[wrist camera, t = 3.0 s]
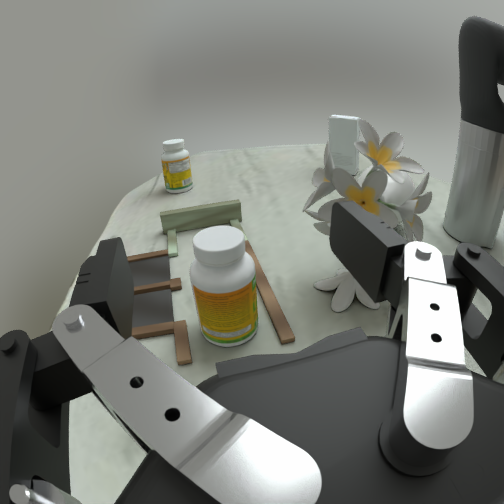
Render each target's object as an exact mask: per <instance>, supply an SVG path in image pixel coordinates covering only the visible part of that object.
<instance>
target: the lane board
mask: <svg viewBox="0 0 504 504" xmlns="http://www.w3.org/2000/svg"><path fill="white" fill-rule="evenodd" d="M160 217H161V222H162V227H163V232H164V234H167V235H168V249H167V250H161V251H156V252H150V253H144V254H139V255H133V256H128V257H127V259H128V263H129V266H130V269H131V273H132V277H133V282H134V298H133V316H132V337H133V338H135V339H140V338H146V337H153V336H159V335H165V334H171V333H174V336H175V345H176V355H177V362H178V365H183V364H188V363H192V359H191V353H190V346H189V339H188V332H187V325H186V321H185V320H182V321H176V322H174V318H173V306H172V294H171V291H174V290H180V289H182V286H181V279H180V278H175V279H170V265H169V257H173V256H178V249H177V238H176V232H179V231H185V230H191V229H197V228H203V227H209V226H215V225H221V224H227V223H230V225H231V227H235V228H237V229H239V230H241V231H242V232H243V234H244V238H245V252H247V253H248V254H249V255H250V256H251V257H252V259H253V261H254V264H255V272H256V285H257V288H258V290H259V292H260V295H261V297H262V299H263V302H264V304H265V306H266V309H267V311H268V313H269V316H270V318H271V320H272V323H273V325H274V327H275V329H276V332H277V334H278V336H279V339H280V341H281V343H282V344H285V343H289V342H293V341H295V336H294V334H293V332H292V330H291V328H290V326H289V324H288V322H287V320H286V318H285V316H284V314H283V312H282V309H281V307H280V305H279V303H278V301H277V299H276V297H275V295H274V293H273V291H272V289H271V287H270V285H269V283H268V280H267V278H266V276H265V274H264V272H263V270H262V268H261V266H260V264H259V262H258V260H257V258H256V256H255V254H254V252H253V249H252V247H251V245H250V243H249V241H248V239H247V237H246V235H245V233H244V231H243V229H242V227H241V225H240V223H239V221H242V217H241V203H240V201H239V200H232V201H225V202H219V203H212V204H206V205H200V206H194V207H188V208H182V209H176V210H170V211H164V212H160ZM149 292H150V293H149Z"/></svg>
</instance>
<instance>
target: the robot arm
mask: <svg viewBox="0 0 504 504" xmlns="http://www.w3.org/2000/svg"><path fill="white" fill-rule="evenodd" d="M459 68H460V102H461V110H462V111H461V118H462V119H461V122H460V131H459V139H458V147H457V154H456V161H455V167H454V173H453V178H452V184H451V189H450V194H449V199H448V204H447V209H446V212H445V218H444V222H443V226H444V229H445V230H446V231H447V232H448V233H449V234H450V235H451V236H452V237H454V238H456V239H457V240H459V241H461V242H463V243H460V244H459V245H458V246H457V249H456V252H455V255H454V256H442V254H441V252H440V251H439V250H438V249H437V248H435V247H434V246H432V245H430V244H427V243H423V242H411V243H409V242H408V241H407V240H406V239H404V238H403V237H402V236H401V235H400V234H398V233H397V232H396V231H395V230H394V229H392V228H390V226H389V225H388V224H386V223H384V221H383V220H382V219H380V218H379V217H378V216H377V215H375V214H372V213H370V212H368V211H366V210H365V209H363V208H362V207H361V206H360V205H358V204H357V203H356V202H354V201H353V200H350V201H342V202H335V203H334V204H333V206H332V213H331V226H330V238H329V239H330V246H331V249H332V251H333V253H334V254H335V255H336V257H337V258H338V259H339V260H340V261H341V263H342V264H343V265H344V266H345V267H346V269H347V270H348V271H349V272H350V273H351V275H352V276H353V277H354V278H355V279H356V281H357V282H358V283H359V284H360V286H361V287H362V288H363V289H364V290H365V292H366V293H367V294H368V295H369V297H370V298H371V299H372V300H373V302H374V303H375V304H376V303H379V302H382V301H386V300H388V301H389V302H390V306H389V310H388V319H387V327H386V335H385V337H379V336H366V335H365V333H364V332H363V330H362V329H361V327H358V328H355V329H351V330H348V331H345V332H341V333H338V334H334V335H331V336H328V337H326V338H324V339H322V340H320V341H319V342H317V343H315V344H313V345H311V346H309V347H307V348H305V349H304V350H302V351H300V352H297V353H293V354H269V355H251V356H247V357H242V358H237V359H232V360H228V361H223V362H217V363H216V368H217V373H218V374H217V375H215V376H212V377H210V378H208V379H207V380H205V381H203V382H202V383H200V384H199V385H198V386H196V387H195V386H193V385H192V384H191V383H189V382H188V381H187V380H185V379H184V378H183V377H181V376H180V375H179V374H178V373H176V372H175V371H174V370H172V369H171V368H170V367H169V366H167V365H166V364H165V363H164V362H163V361H161V360H160V359H159V358H158V357H156V356H155V355H154V354H153V353H152V352H150V351H149V350H148V349H147V348H146V347H144V346H143V345H142V344H141V343H140V342H139V341H137V340H136V339H135V338H133V337H132V316H133V298H134V282H133V277H132V273H131V269H130V266H129V263H128V259H127V256H126V252H125V249H124V245H123V242H122V239H121V238H120V237H117V238H112V239H107V240H102V241H100V243H99V246H98V250H97V253H96V255H95V256H90V257H89V258H88V259H87V260H86V261H85V262H84V263H83V264H82V266H81V268H80V272H79V277H78V278H77V281H76V285H75V288H74V291H73V294H72V298H71V301H70V305H69V308H67V309H65V310H63V311H62V312H61V313H60V314H59V315H58V316H57V317H56V318H55V320H54V322H53V325H52V330H53V331H51V332H49V333H47V334H45V335H42V336H40V337H37V338H35V339H32V340H30V338H29V337H28V335H27V333H26V332H24V331H22V330H13V331H10V332H8V333H6V334H5V335H3V336H2V337H1V338H0V504H82V503H81V502H80V501H79V500H77V499H76V498H74V497H73V496H71V490H70V474H69V403H70V400H73V399H75V398H78V397H80V396H83V395H85V394H88V393H90V392H92V393H93V395H94V396H95V397H96V398H97V400H98V401H99V402H100V403H101V404H102V405H103V407H104V408H105V409H106V410H107V411H108V412H109V414H110V415H111V416H112V417H113V418H114V419H115V420H116V421H117V423H118V424H119V425H120V426H121V427H122V428H123V429H124V430H125V431H126V433H127V434H128V435H129V436H130V437H131V438H132V439H133V440H134V441H135V443H136V444H137V445H138V446H139V447H140V448H141V449H142V450H143V451H144V452H145V453H146V454H147V455H146V457H145V458H144V460H143V461H142V463H141V464H140V466H139V467H138V469H137V470H136V472H135V474H134V475H133V477H132V478H131V480H130V481H129V483H128V484H127V486H126V487H125V489H124V490H123V492H122V493H121V494H120V496H119V497H118V499H117V500H116V502H115V503H114V504H504V267H503V266H502V265H501V264H500V263H499V262H497V261H496V260H495V259H494V258H493V257H492V256H491V255H490V254H488V253H487V252H486V251H485V250H484V249H482V248H481V247H488V248H491V249H492V247H493V244H494V241H495V238H496V235H497V232H498V228H499V225H500V222H501V218H502V215H503V211H504V103H503V102H502V100H501V98H500V96H499V94H498V88H497V83H498V84H501V85H504V26H502V25H499V24H497V23H494V22H492V21H489V20H487V19H484V18H481V17H477V16H472V17H469V18H467V19H466V20H465V21H464V22H463V24H462V26H461V30H460V34H459ZM477 289H479V290H480V291H481V292H482V293H483V294H484V295H485V296H486V297H487V298H488V299H489V300H490V302H491V305H492V314H491V316H490V318H489V320H487V319H486V318H485V317H484V316H483V315H482V313H481V312H480V311H479V310H478V309H477V308H476V307H475V306H474V305H473V303H472V300H473V298H474V296H475V293H476V291H477ZM464 346H465V347H466V349H467V350H468V351H469V353H470V354H471V355H472V357H473V358H474V359H475V361H476V362H477V363H478V365H479V366H480V368H481V369H482V370H483V372H484V373H485V375H486V376H487V377H488V378H487V377H485V376H482V375H480V374H477V373H475V372H473V371H470V370H469V369H467V368H466V366H465V356H464Z"/></svg>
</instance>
